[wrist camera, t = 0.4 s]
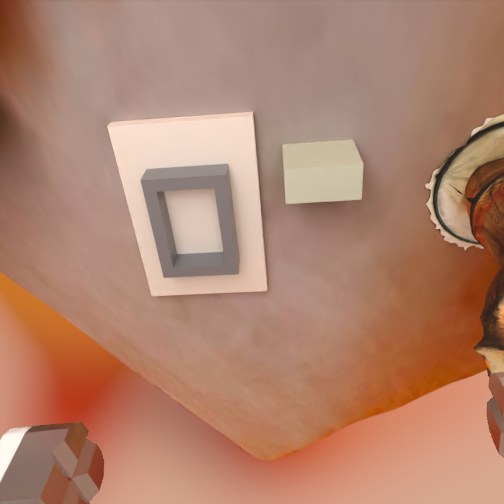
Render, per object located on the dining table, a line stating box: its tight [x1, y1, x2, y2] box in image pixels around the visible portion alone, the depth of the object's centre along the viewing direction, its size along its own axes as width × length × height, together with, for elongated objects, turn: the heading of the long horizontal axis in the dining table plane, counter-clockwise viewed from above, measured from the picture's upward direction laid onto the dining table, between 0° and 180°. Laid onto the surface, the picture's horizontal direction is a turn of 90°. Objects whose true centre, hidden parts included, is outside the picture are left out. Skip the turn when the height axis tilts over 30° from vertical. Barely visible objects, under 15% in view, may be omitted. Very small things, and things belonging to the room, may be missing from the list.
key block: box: [282, 139, 364, 204], centre depth 51 cm, size 4×8×7 cm, turn 95°
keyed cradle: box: [107, 112, 267, 296], centre depth 56 cm, size 24×16×4 cm, turn 5°
